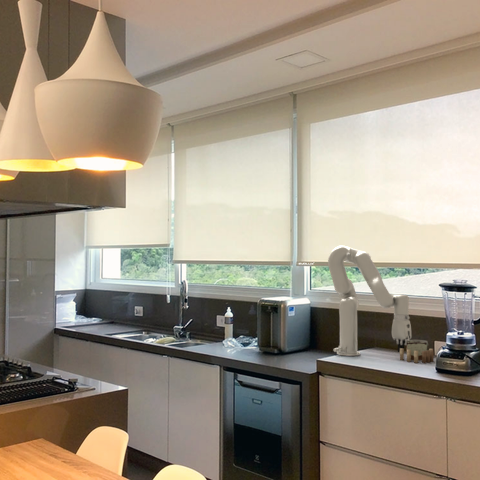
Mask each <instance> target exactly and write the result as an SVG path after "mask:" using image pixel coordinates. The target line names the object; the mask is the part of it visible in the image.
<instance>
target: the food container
mask: <svg viewBox="0 0 480 480" xmlns="http://www.w3.org/2000/svg"><path fill="white" fill-rule="evenodd" d="M404 346H405V350H406V351H407V349H410V350H411V362H412V361H413V362H414V351H418V362H419V361H421V362H422V351H426V350H428V346H429V343H428V340H424V339H410V341H408V340H406V342H405V345H404Z"/></svg>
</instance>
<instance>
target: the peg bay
mask: <svg viewBox="0 0 480 480" xmlns="http://www.w3.org/2000/svg"><path fill="white" fill-rule="evenodd" d="M434 354H435V353H434V348H429V349H427V350H426V351H422V361H421V363H422V364H429V363H434V360H435V359H434V358H435V357H434ZM399 361H405V347H404V348H400V352H399ZM406 362H408V363H411V362H412V361H411V350H410V349H407V350H406ZM413 363H414V364H418V363H419V361H418V351H414V361H413Z"/></svg>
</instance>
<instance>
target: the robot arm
mask: <svg viewBox="0 0 480 480" xmlns="http://www.w3.org/2000/svg"><path fill="white" fill-rule="evenodd" d="M371 257H372V256H371V255H370V254H369V253H368V252H367V251H363V250H359V249H355V248H352V247H349V246H347V245H346V246H345V245H338V246H336V247H335V248H334V249H332V250H331V252H330V253H329V256H328V259H327V265H328V270H329V272H330V277H331V280H332V283H333V287H334V290H335V292H336V293H337V294H338V297H339V299H340V301H339V306H338V313H339V345H338V347H335V348H333V350H332V351H333V352H334V353H336V354H337V355H339V356H345V357H346V356H349V357H353V356H354V357H355V356H356V357H357V356H360V355H361V352H360V351H358V309H359V306H360V302H359V299H358V295H357V293H356V290H355V287H354V283H353V281H352V280H351V279H350V278H349V277H348V274H347V271H346V268H345V263H349V264H352V265H356V267H357V268H358V270H359V272H360V273H361V275H362V277H363V279H364V280H365V282H366V284H367V286H368V287H369V289H370V290H371V292H372V295H373V296H374V298H375V299H376V301H377V302H378V304H379V306H380V307H381V308H383V309H391V308H393V320H392V325H391V337H392V340H393V341H395V342H396V345H397V352H398V353H400V348H404V349H405V346H406V345H405V342H406V340H408V341H410V340H412V326H411V321H410V319H411V317H410V316H409V312H410V310H409V305H410V304H409V303H410V302H409V301H410V300H409V299H410V298H409V296H408V295H407V294H392V293H390V292H389V290H388V288H387V287H386V286H385V283H384V281H383V278H382V275H381V273H380V271H379V270H378V268H377V267H376V264H374V262H373V259H372V258H371Z"/></svg>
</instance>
